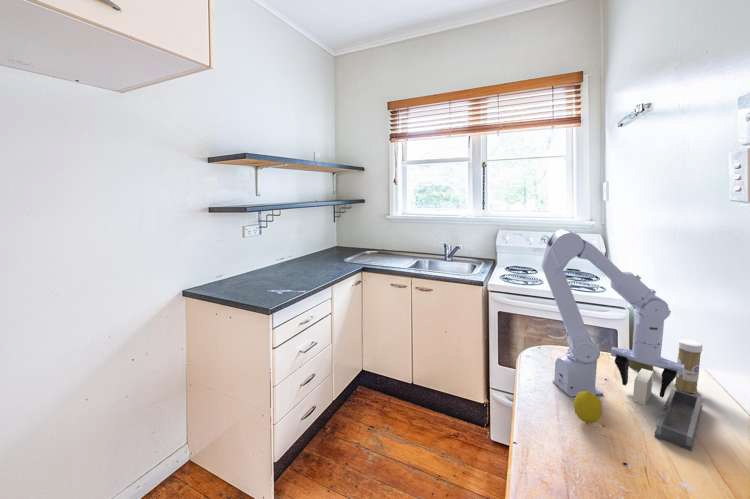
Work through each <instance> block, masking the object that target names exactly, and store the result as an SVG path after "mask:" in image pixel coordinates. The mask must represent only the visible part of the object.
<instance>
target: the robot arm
mask: <svg viewBox="0 0 750 499" xmlns="http://www.w3.org/2000/svg"><path fill="white" fill-rule="evenodd" d="M545 248H546V249H545V251H544V255H543V259H542V263H541V268H542V270H543V271H542V272H543V273H544V277H545V278H546V281H547V284H548V287H549V288H550V291H551V294H552V296H553V299H554V301H555V304H556V307H557V309H558V311H559V314H560V316H561V319H562V322H563V325H564V328H565V331H566V336H565V341H566V343H567V344H568V346H569V347H568V348H567V350H566V352H565V355H563V356H562V357H561V356H560V357H558V358H556V359H555V362H554V378H553V379H552V382H553V383H555V385H557V386H558V387H559V388H560V389H561V390H562V392H564V393H565V394H566V395H567V396H569V397H576V396H577V394H578V393H580V392H583V391H590V392H591V393H593V394H595V395H596V396H597V395H603V394H604V392H603V390H601V389H600V388H598V387H597V386H596V382H597V381H596V380H597V367H598V364H597V363H598V360H599V358H600V356H601V349H600V347H599V346H598V345H597V343H595V341H594V340H593V338H592V336H591V334H590V333H589V331H588V329H587V327H586V324H585V321H584V320H583V317H582V315H581V312H580V309H579V307H578V305H577V302H576V299H575V296H574V294H573V291H572V289H571V286H570V283H569V281H568V279H567V276H566V274H565V271H564V270H565V268H566V267H567V265H568V264H569V262H570V261H571V260H573V259H574V258H576V257H577V258H579V259H582V260H586V261H587V260H588V261H589V263H591V264H592V265H594V266H595V268H597V269H598V270H599V271H601V273H603V274H604V275H605V276H606V277H607V278H609V279H610V288H611V289H612V290H614V291H615V292H616V293H617V294H618V295H619V296H620V297H621V298H622V299H623V300H625V301H626V302H627V303H628V305H631V306H632V309H634V310H636V311H635V318H634V326H633V327H634V328H633V334H634V336H633V335H632V336H633V339H632V349H628V348H627V349H626V348H620V347H616V346H612V348H611V352H610V356H611V357H615V359H614V364H615V365H616V367H617V370H618V371H619V374H620V377H621V384H622V385H623V386H625V387H626V386H627V385H628V382H629V368H630V367H629V361H630V360H633V361H636V362H640V363H643V364H647V365H651V366H653V367H656V368H658V369H663V370H662V372H661V386H660V391H659V397H660V398H664V397H665V393H666V390H667V389H668V387H669V386H670V384H672V382H673V381H674V379H675V380H676V375H677V374H680V375H683V373H684V365H682V364H679V363H677V362H675V361H672V360H670V359H667V358H664V357H662V345H663V338H664V329H665V328H664V327H665V326H664V324H665V320H667V319H668V318H669V317H670V315H671V312H672V311H671V310H670V308H669V304H668V303H667V301H665V300H663V299H662V298H661V297H659V296H657V295H656V294H657V291H656V290H655V289H654V288H649V287H648V286H647V285H646V284H645V283H644V282H643V281H641V280H642V277H641V276H640V275H638V274H637V273H634V274H633V273H632V272H630V271H621V269H619V268H618V266H617V265H615V264H614V263H613V262H612V261H611V260H610V259H609V258H608V257H607V256H606V255H605V254H604V253H603V252H601V251H600V250H599V249H598V248H597V247H596V246H595V245H593V243H590V242H589V241H587V240H586V239H584V238H582V237H581V236H580V235H579V234H577V233H575V232H572V231H571V230H568V229H559V230H556V231H555V232H554V233H552V235H551V236H550V238H549V239H548V240H547V241H546V247H545Z"/></svg>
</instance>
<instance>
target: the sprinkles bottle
mask: <svg viewBox="0 0 750 499" xmlns="http://www.w3.org/2000/svg"><path fill="white" fill-rule="evenodd" d="M677 346H678V353H677V360H676V361H677V362H676V363H679V364H682V365H684V373H683V375H680V374H677V375H676V377H675V381H674V382H675V383H674V388H675V389H676V390H679V391H682V392H686V393H689V394H696V393H698V381H699V375H700V365H701V364H700V363H701V353H702V352H703V344H702V343H701V342H698V341H696V340H692V339H688V338H687V339H686V338H684V339H683V338H682V339H679V341H678V345H677Z"/></svg>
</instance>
